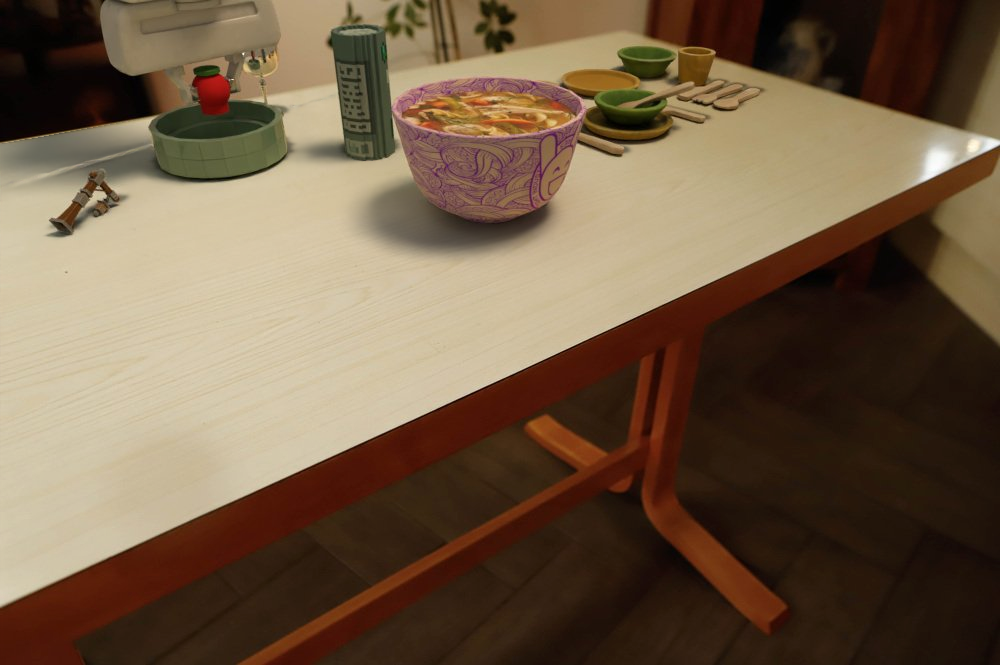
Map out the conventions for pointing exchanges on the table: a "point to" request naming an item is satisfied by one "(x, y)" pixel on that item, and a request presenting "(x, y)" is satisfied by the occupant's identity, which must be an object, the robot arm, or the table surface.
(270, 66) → the wineglass
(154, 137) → the bowl
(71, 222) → the wooden post with brackets
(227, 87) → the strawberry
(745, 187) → the table surface
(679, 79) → the tableware set
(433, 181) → the bowl of food
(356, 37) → the can
